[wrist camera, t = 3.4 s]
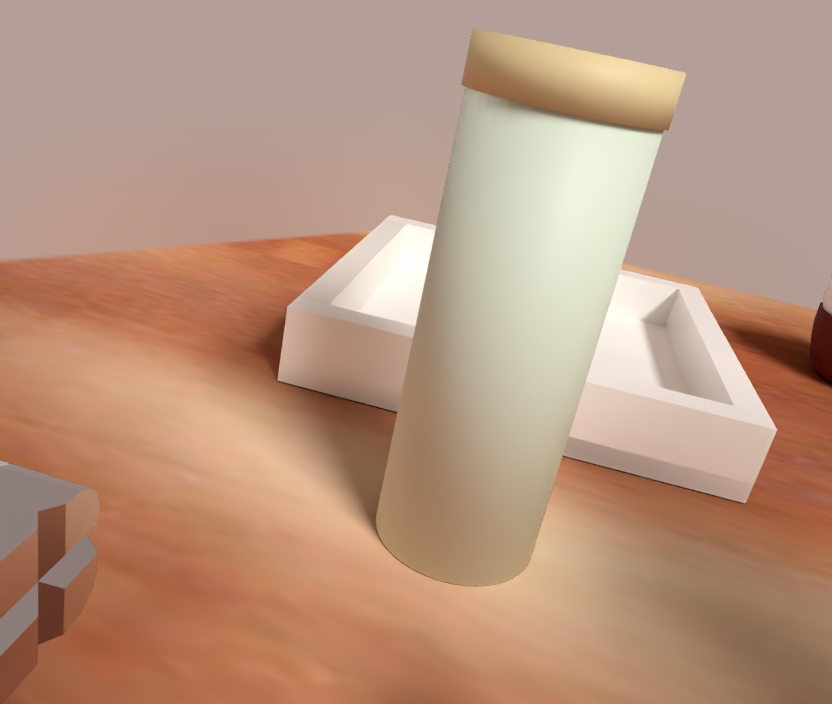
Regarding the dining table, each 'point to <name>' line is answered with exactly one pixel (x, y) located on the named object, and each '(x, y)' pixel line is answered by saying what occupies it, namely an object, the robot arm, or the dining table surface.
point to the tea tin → (515, 297)
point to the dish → (606, 382)
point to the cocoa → (823, 336)
